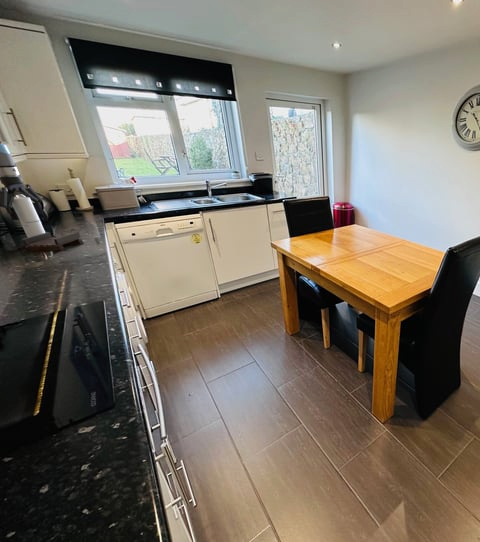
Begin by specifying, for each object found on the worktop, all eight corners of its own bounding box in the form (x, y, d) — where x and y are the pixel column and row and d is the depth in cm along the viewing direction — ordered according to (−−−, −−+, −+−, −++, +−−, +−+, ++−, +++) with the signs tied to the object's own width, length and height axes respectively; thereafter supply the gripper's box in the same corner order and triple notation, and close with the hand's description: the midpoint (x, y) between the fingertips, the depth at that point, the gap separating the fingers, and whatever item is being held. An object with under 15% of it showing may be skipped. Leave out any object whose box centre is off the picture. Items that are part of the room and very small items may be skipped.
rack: (27, 252, 145) (21, 239, 142) (52, 244, 158) (47, 232, 155) (61, 252, 146) (56, 239, 144) (83, 243, 159) (78, 231, 156)
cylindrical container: (47, 243, 158) (27, 198, 148) (29, 245, 154) (7, 199, 144) (50, 240, 163) (31, 196, 153) (33, 242, 160) (12, 197, 150)
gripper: (-10, 178, 133) (12, 222, 142) (40, 173, 156) (56, 211, 164) (-27, 178, 133) (-4, 222, 141) (25, 173, 155) (42, 212, 164)
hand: (28, 216), depth 153 cm, fingers open, 13 cm apart
